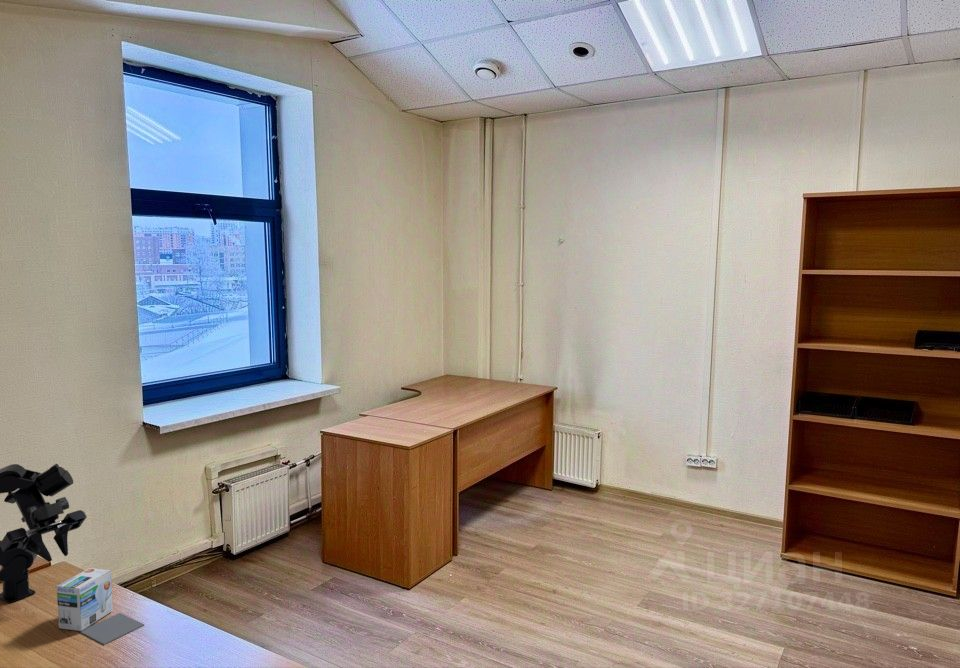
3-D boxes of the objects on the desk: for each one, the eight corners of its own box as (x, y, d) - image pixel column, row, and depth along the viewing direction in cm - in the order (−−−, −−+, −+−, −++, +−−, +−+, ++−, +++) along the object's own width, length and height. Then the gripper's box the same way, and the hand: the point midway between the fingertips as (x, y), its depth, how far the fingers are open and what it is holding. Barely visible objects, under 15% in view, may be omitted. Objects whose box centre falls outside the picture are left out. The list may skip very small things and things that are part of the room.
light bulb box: (81, 632, 160) (78, 588, 159) (57, 629, 161) (54, 586, 160) (114, 610, 170) (112, 569, 169) (91, 607, 171) (89, 566, 170)
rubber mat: (79, 632, 160) (79, 631, 160) (119, 613, 169) (119, 612, 169) (104, 645, 155) (104, 643, 155) (144, 625, 164) (144, 624, 164)
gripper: (3, 501, 163) (30, 555, 158) (81, 480, 179) (107, 529, 174) (-11, 525, 167) (14, 578, 163) (66, 502, 183) (90, 550, 179)
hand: (58, 558), depth 170 cm, fingers open, 4 cm apart
